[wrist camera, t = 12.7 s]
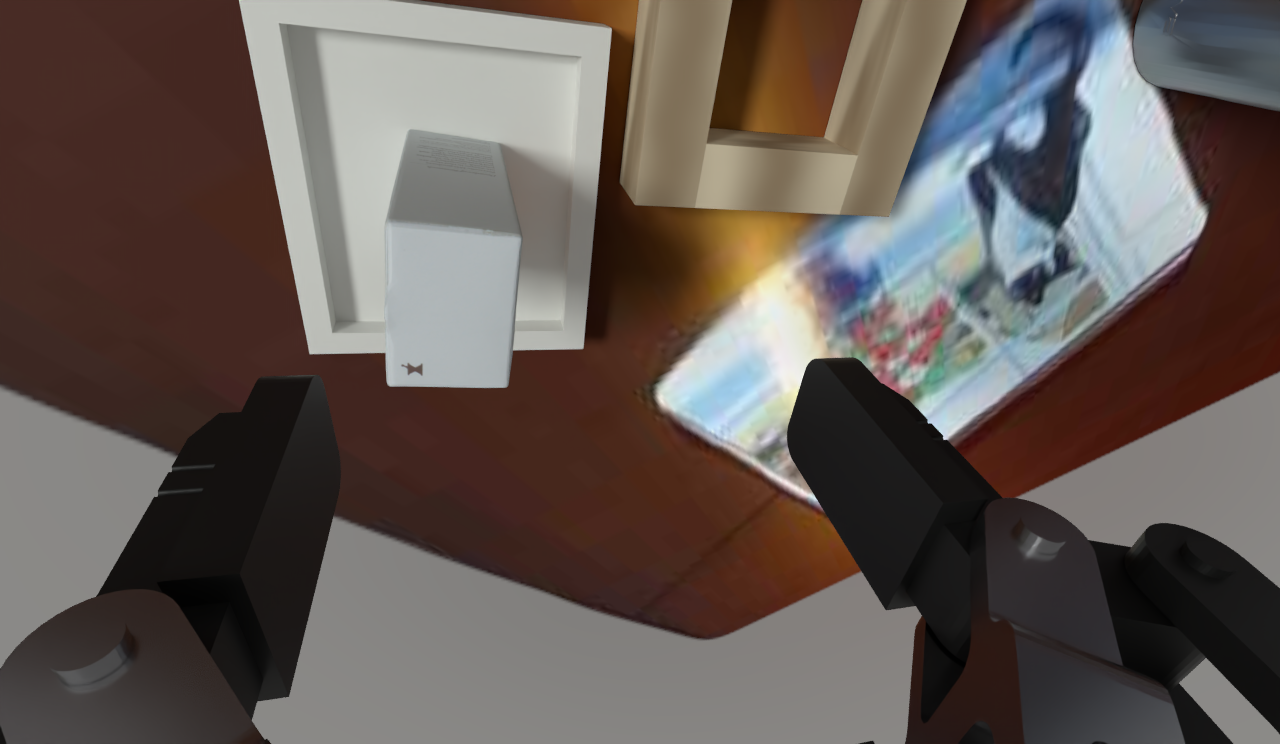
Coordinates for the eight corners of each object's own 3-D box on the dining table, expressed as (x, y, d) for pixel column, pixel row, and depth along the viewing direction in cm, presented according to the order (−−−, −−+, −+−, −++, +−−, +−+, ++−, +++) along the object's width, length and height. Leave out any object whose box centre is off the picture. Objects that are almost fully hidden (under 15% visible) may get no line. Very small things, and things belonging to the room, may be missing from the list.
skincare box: (493, 258, 32) (509, 394, 22) (405, 250, 30) (382, 391, 21) (503, 137, 28) (527, 235, 19) (405, 123, 27) (377, 220, 18)
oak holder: (953, -110, 28) (1008, -116, 25) (854, 195, 35) (888, 216, 32) (658, -176, 24) (684, -191, 21) (619, 182, 31) (635, 205, 29)
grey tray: (603, 23, 27) (611, 28, 26) (578, 332, 36) (583, 348, 35) (248, -22, 23) (234, -20, 22) (316, 335, 32) (309, 354, 31)
